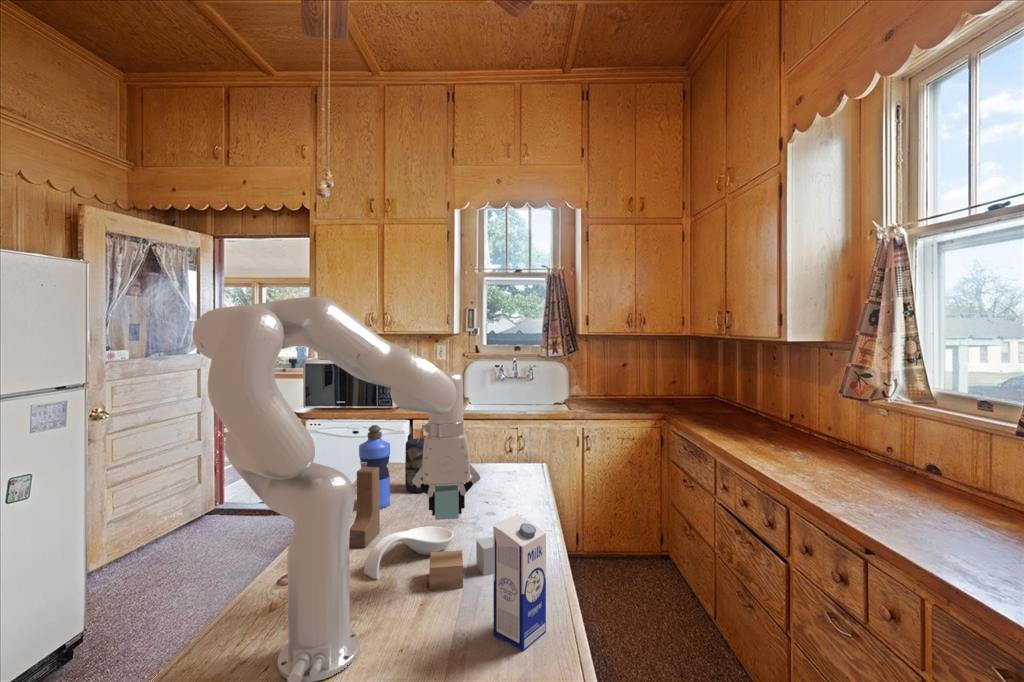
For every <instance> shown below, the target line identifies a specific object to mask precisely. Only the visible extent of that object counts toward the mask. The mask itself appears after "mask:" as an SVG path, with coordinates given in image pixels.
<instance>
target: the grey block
mask: <svg viewBox="0 0 1024 682" xmlns="http://www.w3.org/2000/svg"><path fill="white" fill-rule="evenodd" d="M475 541H476V542H475V543H476V545H475V546H476V547H475V549H476V551H475V552H476V554H475V555H476V557H475V558H476V564H475V565H476V567H477V568H478V570H479V571H480V572H481V574H482V576H488V575H492V574H493V536H491V537H484V538H480V539H476V540H475Z"/></svg>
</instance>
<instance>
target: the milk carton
mask: <svg viewBox="0 0 1024 682" xmlns="http://www.w3.org/2000/svg"><path fill="white" fill-rule="evenodd" d="M492 527H493V529H492V530H493V536H492V537H493V578H492V579H493V583H492V585H493V587H492V589H493V590H492V591H493V598H492V599H493V636H494V637H495V638H497V639H499V640H501V639H502V641H503V642H505V643H506V642H507V643H506V644H508V643H509V644H508V645H510V644H511V645H510V646H512V647H514V648H515V647H516V648H515V649H517V648H518V649H517V650H519V649H520V650H519V651H521V650H522V651H521V652H524V651H525V650H526V649H528V648H529V647H530V646H531V645H533V643H535V642H536V641H537V640H538V639H540V638H541V636H543V635H544V634H546V632H547V532H546V531H544V530H543V529H541V527H539V526H537V525H536V524H534V523H533V522H532V521H530V520H529V519H527V517H523V516H522V515H520V514H518V513H516V514H514V515H512V516H509V517H508V518H505V519H504V520H502V521H499V522H496V524H493V525H492Z"/></svg>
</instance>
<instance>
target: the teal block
mask: <svg viewBox="0 0 1024 682" xmlns="http://www.w3.org/2000/svg"><path fill="white" fill-rule="evenodd" d="M434 491H435V516H434V520H435V521H439V520H455V519H456V520H457V519H459V517H460V514H459V487H458V484H444V485H436V486H435V489H434Z"/></svg>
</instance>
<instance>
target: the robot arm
mask: <svg viewBox="0 0 1024 682" xmlns="http://www.w3.org/2000/svg"><path fill="white" fill-rule="evenodd" d="M191 335H192V341H193V343H194V346H195V348H196V349H197V351H198V352H199V353H200V354H202V355H203V356H205V357H206V358H207V359H210V360H211V361H210V364H209V370H208V377H207V395H208V398H209V402H210V404H211V406H212V408H213V411H214V412H215V413H216V415H217V417H218V418H219V420H220V421H221V422H222V425H224V427H225V428H226V430H227V433H226V436H225V438H224V450H225V455H226V457H227V460H228V461H229V463H230V464H231V465H232V467H233V468H234V470H235V471H236V472H237V474H239V476H240V477H241V478H242V479H243V481H244V482H245V483H246V484H247V485H248V486H249V488H250V489H251V490H252V491H253V493H255V495H256V496H257V497H258V498H259V499H260V501H262V503H263V504H265V506H266V507H267V508H269V509H270V510H272V511H273V512H275V513H276V514H280V515H281V516H284V517H285V518H287V519H289V520H291V521H293V531H292V535H291V537H290V539H289V544H288V548H287V556H286V557H287V558H286V560H287V561H286V563H287V564H286V565H287V566H286V570H287V571H286V572H287V637H288V638H287V639H288V640H287V644H286V645H284V646H283V648H282V649H281V650H280V652H279V654H278V657H277V658H278V659H277V670H278V673H279V674H280V675H281V676H282V678H284V679H286V680H287V682H319V681H322V680H326V679H328V678H330V677H333V676H335V675H337V674H338V672H339V673H340V672H342V671H343V670H345V669H346V668H347V667H348V666H350V665H351V664H352V663H353V662H354V660H355V659H356V657H357V656H358V654H359V651H360V638H359V635H358V634H357V632H355V631H354V630H353V629H351V621H350V620H351V619H350V617H351V611H350V610H351V607H350V603H351V602H350V600H351V597H350V547H349V534H350V528H351V522H352V517H353V511H354V508H355V507H354V506H355V500H356V498H355V496H356V495H355V494H356V493H355V489H354V485H353V483H352V482H351V480H350V479H349V477H348V476H347V475H345V473H343V472H342V471H340V470H338V469H336V468H334V467H331V466H328V465H323V464H321V463H316V462H314V460H315V455H316V446H315V442H314V439H313V437H312V435H311V433H310V431H309V430H308V429H307V427H306V426H305V425H304V424H303V423H302V420H300V418H299V417H298V415H297V414H296V413H295V411H294V410H293V408H292V407H291V406H290V404H289V402H287V400H286V399H285V397H284V395H283V393H282V392H281V390H280V388H279V387H278V385H277V382H276V377H275V370H276V364H277V360H278V357H279V354H280V352H281V350H283V349H284V350H285V349H287V348H288V349H289V348H292V347H300V348H301V347H302V348H304V347H305V348H308V349H311V350H312V351H314V352H315V353H317V354H318V355H320V356H322V357H323V358H325V359H327V361H330V362H331V363H333V364H334V365H336V366H337V367H339V368H340V369H342V370H344V371H345V372H346V373H348V374H350V376H353V378H354V377H355V378H356V379H358V380H361V381H365V382H367V383H370V384H373V385H378V386H382V387H386V388H390V391H389V392H390V398H391V400H392V402H393V403H394V405H395V406H397V407H398V408H400V409H402V410H407V411H412V412H419V413H420V412H421V413H427V415H428V421H427V423H426V424H421V431H422V432H426V433H428V434H427V435H425V437H424V438H425V441H424V447H423V464H422V467H421V468H420V470H419V471H418V472H417V474H416V475H415V476H414V477H413V479H412V483H413V484H415V485H416V486H418V487H419V488H420V489H421V490H422V491H423V492H422V493H424V494H425V495H427V498H428V511H431V516H433V517H435V486H436V485H444V484H458V490H459V515H462V514H463V513H462V511H463V510H462V509H465V508H466V507H465V506H466V505H465V504H466V503H465V502H466V501H465V495H467V492H468V491H469V490H471V488H472V487H473V485H475V484H476V483H477V482H479V481H480V480H481V475H480V473H478V471H477V470H476V469H475V468H474V467H473V465H472V464H471V461H470V460H471V458H470V457H471V456H470V454H471V453H470V444H469V439H468V434H466V433H464V432H465V431H464V377H463V375H462V374H461V373H459V372H454V371H443V370H441V369H440V368H438V367H437V366H436V365H435V364H433V363H432V362H430V361H428V360H427V359H425V358H423V357H422V356H419V355H418V354H415V353H413V352H411V351H409V350H407V349H405V348H403V347H401V346H399V345H397V344H396V343H392V341H391V342H390V341H389V340H386V339H384V338H383V337H382V336H380V334H377V332H375V331H373V330H372V329H371V328H370V327H368V326H367V325H365V324H364V323H363V322H362V321H360V320H359V319H357V317H355V316H354V315H353V314H351V313H350V312H349V311H348V310H346V309H344V307H342V306H340V304H339V303H337V302H335V301H333V300H331V299H329V298H327V297H323V296H316V295H315V296H305V297H295V298H294V297H293V298H292V297H291V298H286V299H279V300H275V301H274V300H273V301H269V302H268V301H267V302H261V303H252V304H251V303H250V304H245V305H244V304H241V305H235V306H225V307H217V308H213V309H211V310H207V311H206V312H205V313H203V314H202V315H200V316H199V318H198V319H197V320H196V322H195V323H194V326H193V328H192V333H191ZM422 476H423V481H422V480H421V477H422ZM427 484H428V485H429V486H428V485H427ZM351 662H352V663H351ZM350 663H351V664H350ZM349 664H350V665H349ZM347 665H348V666H347ZM344 668H345V669H344ZM341 670H342V671H341ZM336 673H337V674H336ZM334 674H335V675H334Z"/></svg>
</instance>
